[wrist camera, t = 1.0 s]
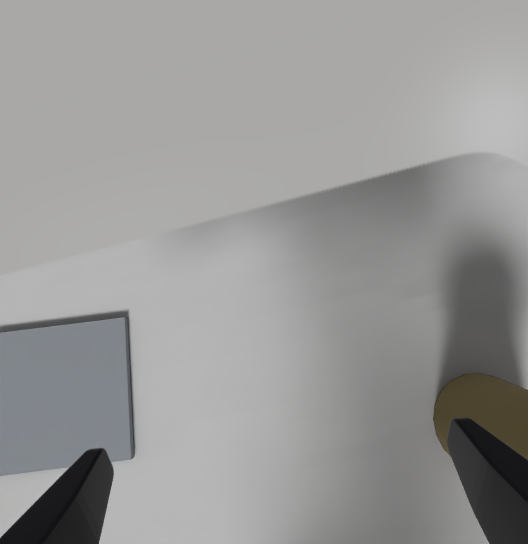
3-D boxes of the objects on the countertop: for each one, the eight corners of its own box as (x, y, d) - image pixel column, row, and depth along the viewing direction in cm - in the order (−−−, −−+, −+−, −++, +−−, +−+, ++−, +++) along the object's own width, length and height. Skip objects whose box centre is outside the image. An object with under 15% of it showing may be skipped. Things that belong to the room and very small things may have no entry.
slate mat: (134, 456, 23) (131, 459, 22) (-5, 474, 23) (-11, 477, 22) (127, 317, 24) (124, 317, 24) (-2, 333, 24) (-7, 333, 24)
